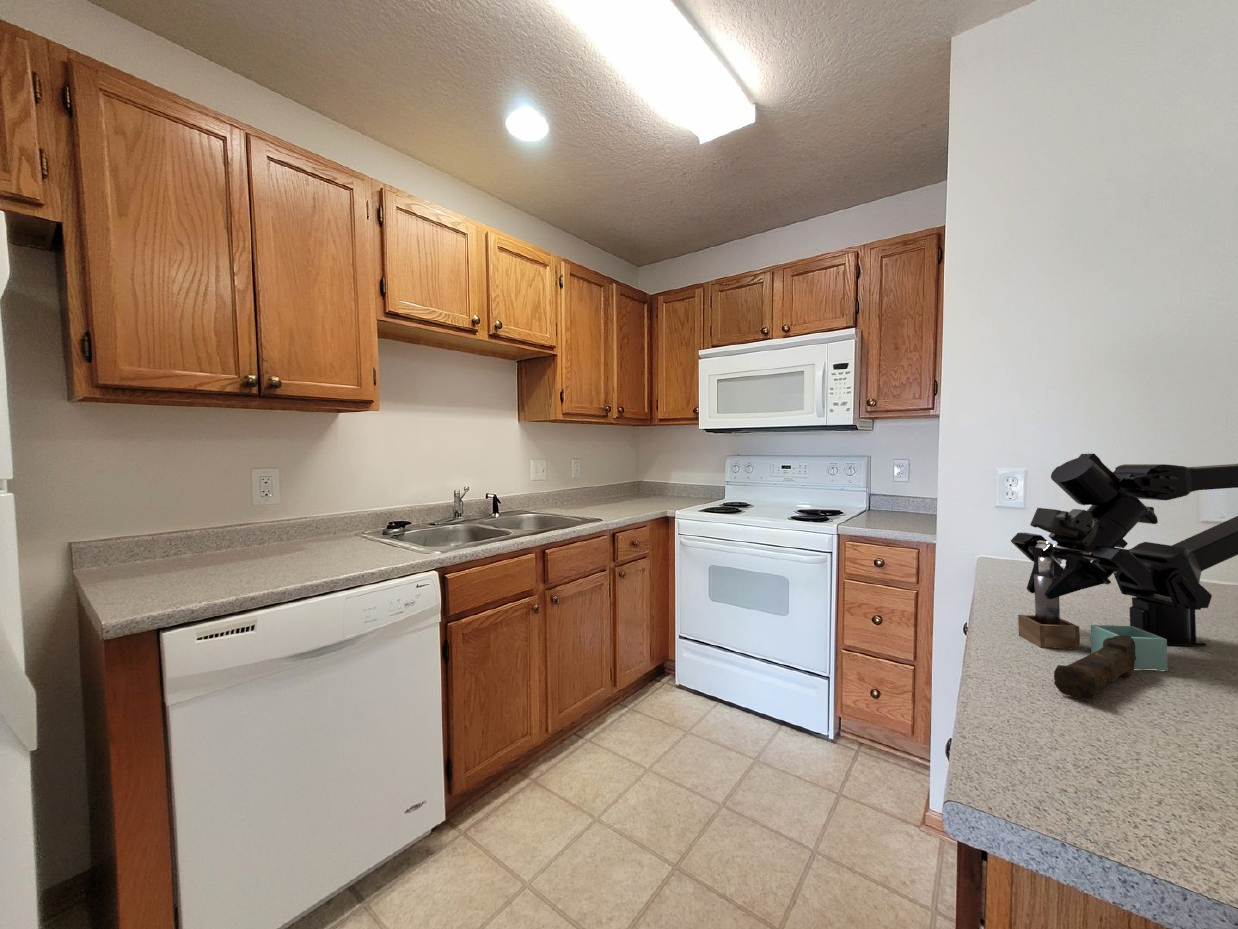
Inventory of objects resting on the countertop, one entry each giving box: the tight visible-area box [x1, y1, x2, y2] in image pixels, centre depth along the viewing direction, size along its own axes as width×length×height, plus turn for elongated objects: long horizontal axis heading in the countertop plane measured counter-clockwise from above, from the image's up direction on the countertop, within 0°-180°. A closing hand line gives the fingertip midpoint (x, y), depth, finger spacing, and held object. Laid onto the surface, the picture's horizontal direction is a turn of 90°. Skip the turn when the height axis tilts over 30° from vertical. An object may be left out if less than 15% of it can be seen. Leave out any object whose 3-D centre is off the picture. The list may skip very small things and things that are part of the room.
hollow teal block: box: [1090, 624, 1169, 671], centre depth 69 cm, size 5×5×4 cm
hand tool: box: [1053, 635, 1136, 701], centre depth 63 cm, size 19×4×5 cm, turn 115°
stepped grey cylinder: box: [1034, 557, 1061, 625], centre depth 77 cm, size 3×3×13 cm
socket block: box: [1017, 614, 1081, 650], centre depth 77 cm, size 5×5×4 cm
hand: (1038, 594), depth 77 cm, fingers closed on stepped grey cylinder, 3 cm apart
